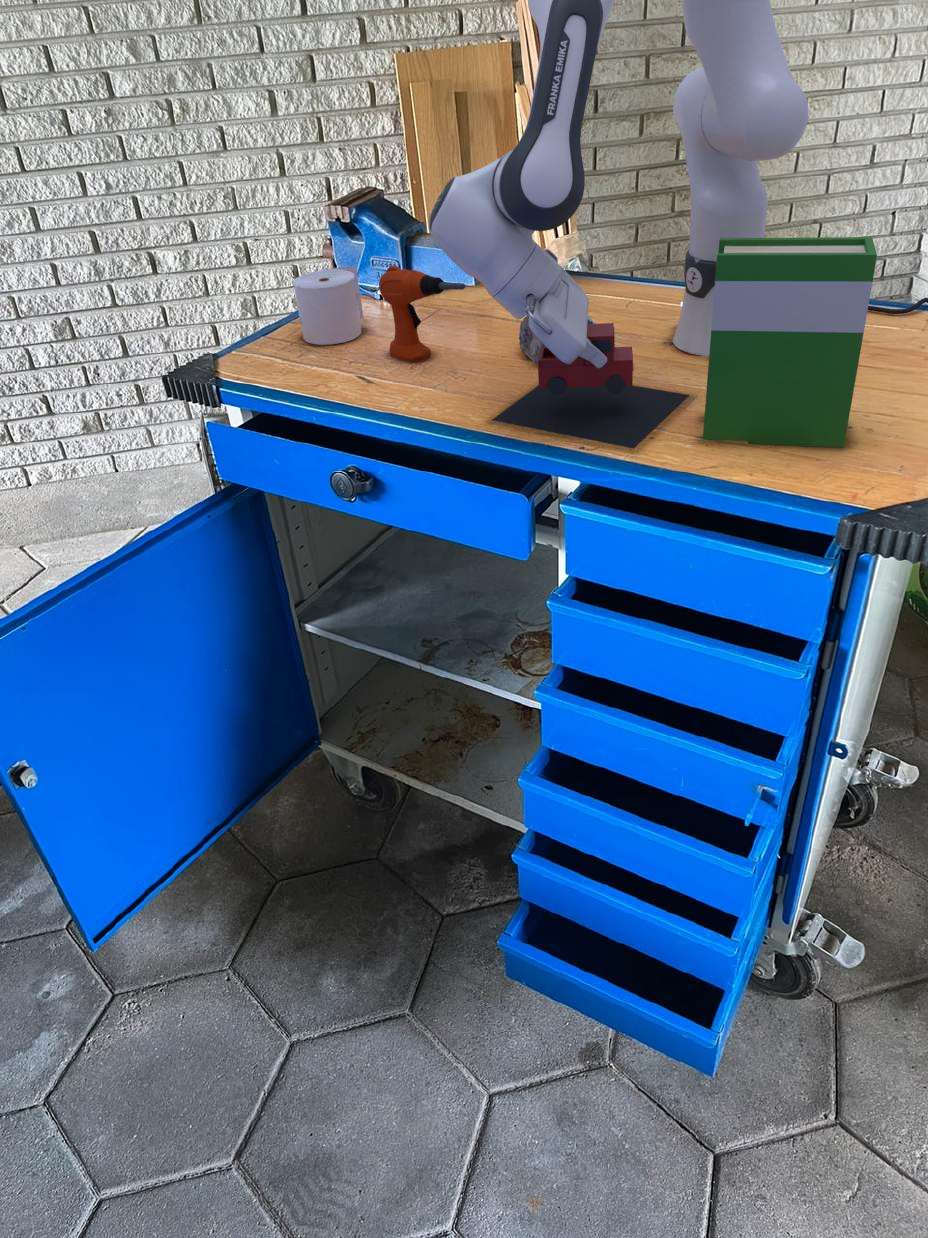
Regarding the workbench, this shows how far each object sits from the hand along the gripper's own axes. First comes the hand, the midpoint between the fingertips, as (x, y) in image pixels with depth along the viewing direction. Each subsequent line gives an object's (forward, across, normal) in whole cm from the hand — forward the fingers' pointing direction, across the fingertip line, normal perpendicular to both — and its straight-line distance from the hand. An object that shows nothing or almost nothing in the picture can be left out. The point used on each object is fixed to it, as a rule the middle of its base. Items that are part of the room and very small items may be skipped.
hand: (604, 353), depth 132 cm
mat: (+5, +1, +7) cm, 9 cm away
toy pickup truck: (+2, 0, +5) cm, 5 cm away
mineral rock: (0, +24, +13) cm, 28 cm away
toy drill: (-14, +22, +26) cm, 37 cm away
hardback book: (+22, -7, -9) cm, 25 cm away
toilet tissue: (-28, +36, +40) cm, 61 cm away
